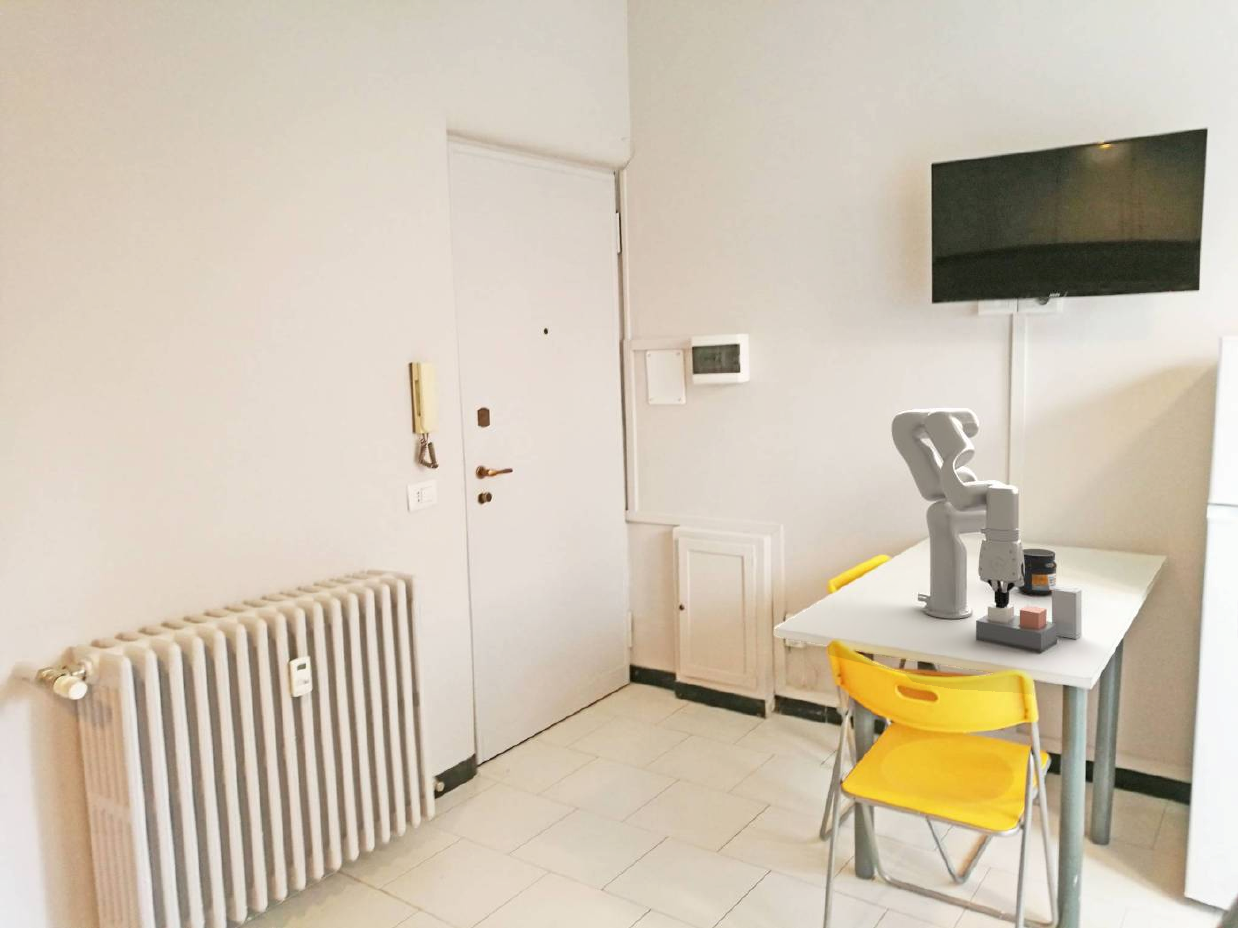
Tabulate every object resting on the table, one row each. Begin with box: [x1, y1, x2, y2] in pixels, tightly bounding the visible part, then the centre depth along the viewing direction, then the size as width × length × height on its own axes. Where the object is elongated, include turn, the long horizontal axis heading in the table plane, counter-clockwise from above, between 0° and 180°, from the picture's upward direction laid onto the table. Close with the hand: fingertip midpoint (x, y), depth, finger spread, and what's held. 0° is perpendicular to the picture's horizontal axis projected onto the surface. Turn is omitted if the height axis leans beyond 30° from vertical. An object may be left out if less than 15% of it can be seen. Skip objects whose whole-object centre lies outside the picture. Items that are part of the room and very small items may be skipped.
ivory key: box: [987, 602, 1015, 623], centre depth 231 cm, size 5×5×4 cm
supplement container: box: [1017, 548, 1058, 597], centre depth 270 cm, size 10×10×12 cm
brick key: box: [1019, 605, 1047, 630], centre depth 225 cm, size 5×5×4 cm
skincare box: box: [1051, 585, 1083, 640], centre depth 231 cm, size 6×4×12 cm
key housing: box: [975, 614, 1058, 654], centre depth 229 cm, size 16×10×5 cm, turn 44°
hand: (1001, 606), depth 231 cm, fingers closed
